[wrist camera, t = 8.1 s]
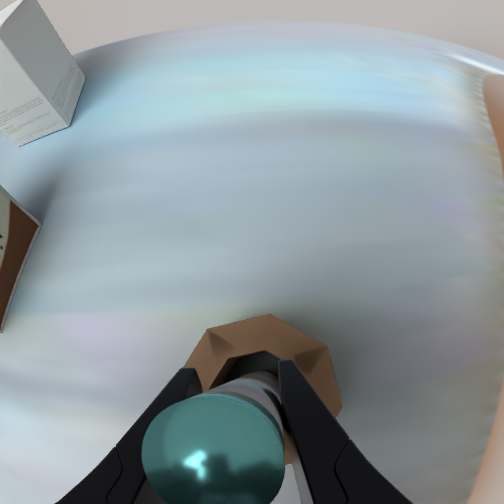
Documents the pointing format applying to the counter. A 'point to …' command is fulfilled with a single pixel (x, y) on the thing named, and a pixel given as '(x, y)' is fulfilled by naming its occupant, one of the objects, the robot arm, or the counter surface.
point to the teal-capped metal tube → (219, 445)
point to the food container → (13, 247)
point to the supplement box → (34, 75)
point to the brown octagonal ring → (260, 340)
